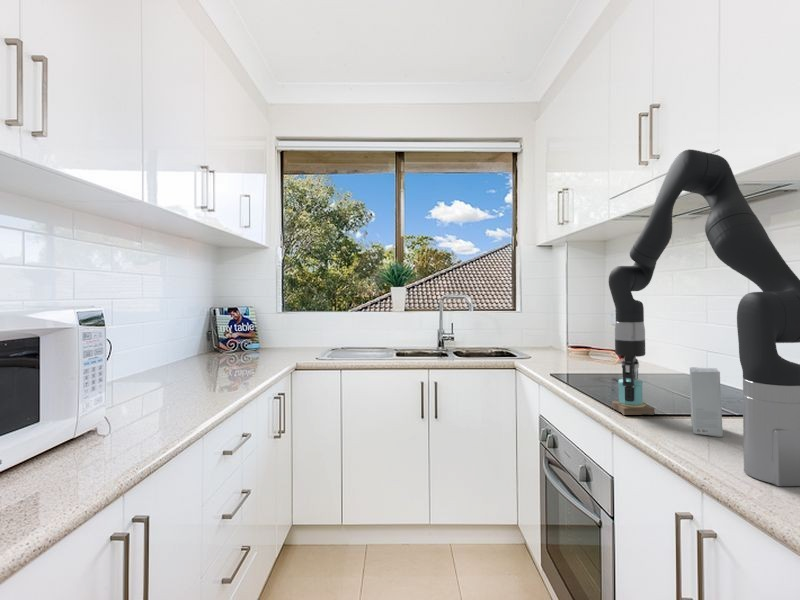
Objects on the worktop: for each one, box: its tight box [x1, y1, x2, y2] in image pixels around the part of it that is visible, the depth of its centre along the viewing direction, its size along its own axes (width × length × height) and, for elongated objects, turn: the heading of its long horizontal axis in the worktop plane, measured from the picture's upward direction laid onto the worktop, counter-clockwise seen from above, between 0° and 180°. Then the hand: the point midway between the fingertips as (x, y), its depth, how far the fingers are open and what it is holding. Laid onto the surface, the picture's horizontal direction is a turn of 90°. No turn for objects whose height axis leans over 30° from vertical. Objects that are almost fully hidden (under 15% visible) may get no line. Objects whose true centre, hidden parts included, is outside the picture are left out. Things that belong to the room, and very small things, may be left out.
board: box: [611, 400, 656, 416], centre depth 128 cm, size 8×8×6 cm
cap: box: [618, 378, 644, 405], centre depth 128 cm, size 6×6×6 cm
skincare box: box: [689, 367, 724, 438], centre depth 110 cm, size 8×6×15 cm
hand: (630, 398), depth 128 cm, fingers closed on cap, 5 cm apart
